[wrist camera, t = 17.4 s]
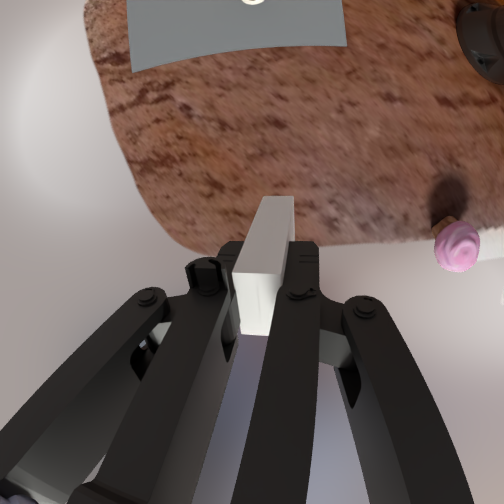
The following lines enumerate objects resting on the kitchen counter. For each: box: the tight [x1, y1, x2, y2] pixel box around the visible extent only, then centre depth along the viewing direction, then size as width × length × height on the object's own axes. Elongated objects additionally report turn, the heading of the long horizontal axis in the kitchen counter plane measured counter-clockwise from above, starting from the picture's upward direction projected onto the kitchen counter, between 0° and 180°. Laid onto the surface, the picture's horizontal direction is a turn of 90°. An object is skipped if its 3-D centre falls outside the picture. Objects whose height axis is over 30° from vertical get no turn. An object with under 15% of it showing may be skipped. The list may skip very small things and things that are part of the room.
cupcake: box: [432, 216, 480, 272], centre depth 41 cm, size 9×9×10 cm
